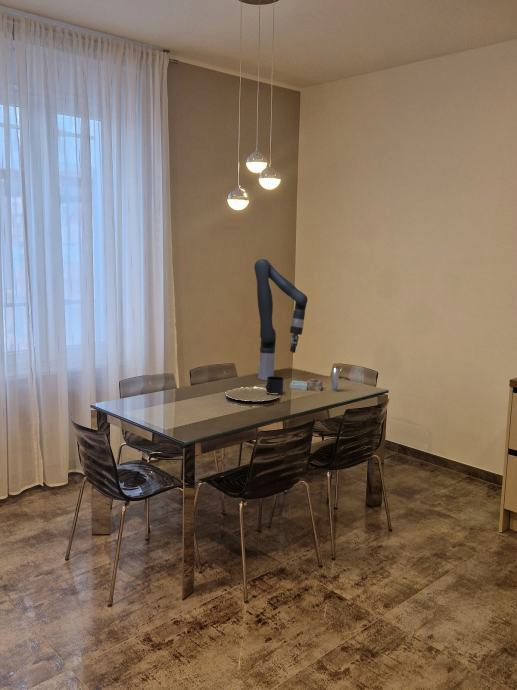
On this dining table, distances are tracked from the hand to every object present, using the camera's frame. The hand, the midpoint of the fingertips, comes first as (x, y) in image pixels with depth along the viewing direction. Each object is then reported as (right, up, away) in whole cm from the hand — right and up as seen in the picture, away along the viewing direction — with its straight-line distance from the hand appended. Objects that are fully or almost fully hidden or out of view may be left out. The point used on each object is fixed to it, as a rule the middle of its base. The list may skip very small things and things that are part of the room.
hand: (292, 352), depth 383 cm
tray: (+4, -21, -8) cm, 23 cm away
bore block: (+13, -22, -10) cm, 27 cm away
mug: (-12, -24, -24) cm, 36 cm away
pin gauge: (+24, -23, -13) cm, 36 cm away
